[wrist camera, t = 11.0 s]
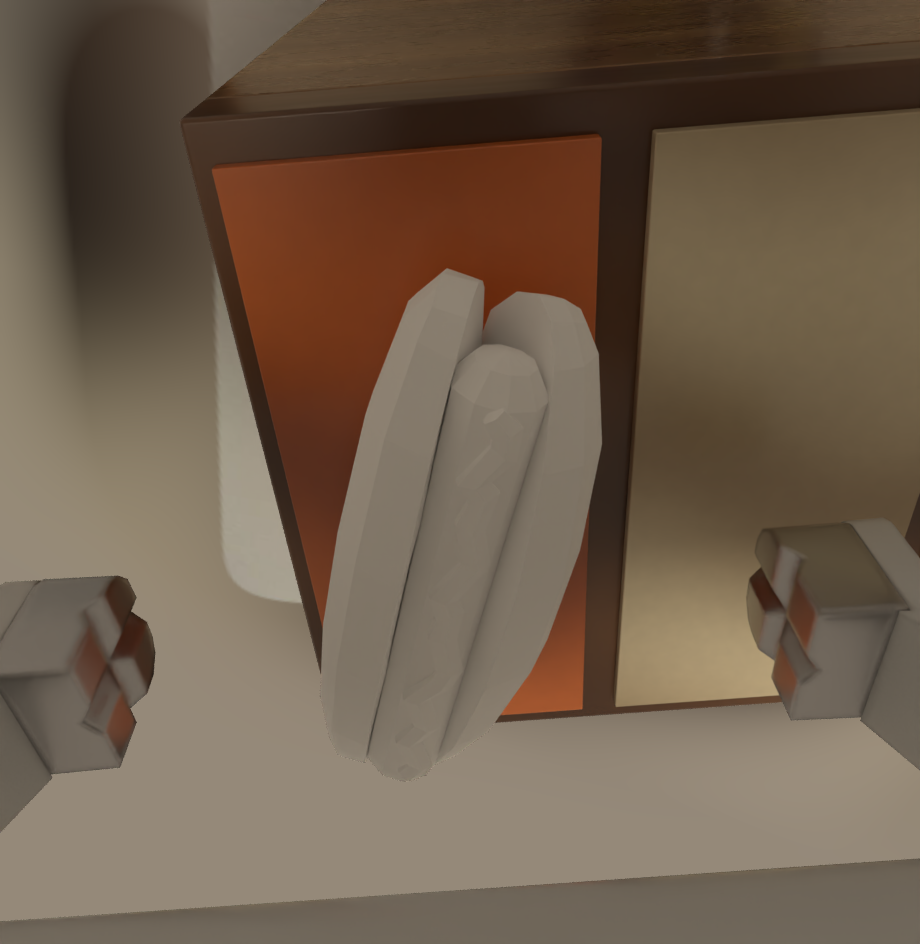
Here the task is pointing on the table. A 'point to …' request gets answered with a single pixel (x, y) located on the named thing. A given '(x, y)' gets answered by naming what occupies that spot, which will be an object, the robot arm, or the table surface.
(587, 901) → the robot arm
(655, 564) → the board
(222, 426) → the table surface
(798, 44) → the oak stand
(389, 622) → the grey ribbed oval piece
